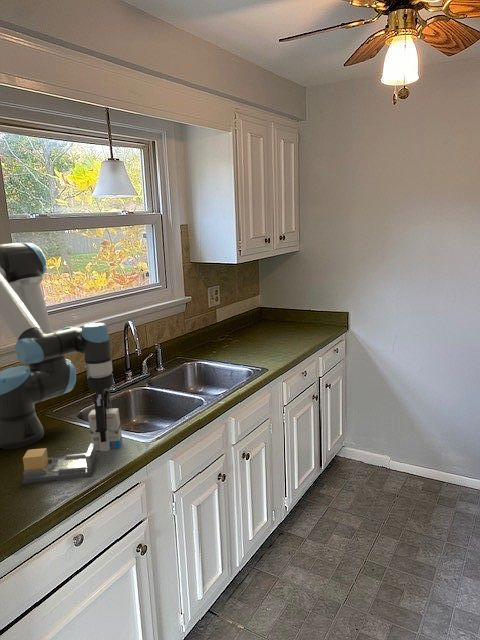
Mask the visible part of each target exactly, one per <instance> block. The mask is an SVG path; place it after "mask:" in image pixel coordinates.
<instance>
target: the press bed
mask: <svg viewBox="0 0 480 640" xmlns="http://www.w3.org/2000/svg"><path fill="white" fill-rule="evenodd" d="M99 459H100V457H99V453H98V452H97V450H95V443H92V442H91V443H89V446H88V449H87V452H84V453H74V454H66V455H65V456H58V457H57V456H56V457H48V464H47V466H46V468H45V469H37V470H27V471H25V470H23V472H22V473H23V476H22V477H21V483H22V485H25V484H26V485H27V484H37V483H46V482H53V481H63V480H65V481H66V480H73V479H74V480H75V479H82V478H83V479H85V478H93V477H94V473H95V470H96V468H97V465H98V462H99Z"/></svg>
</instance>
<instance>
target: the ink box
mask: <svg viewBox="0 0 480 640" xmlns="http://www.w3.org/2000/svg"><path fill="white" fill-rule="evenodd" d="M87 418H88V425H89V426H88V427H89V432H90V442H91V443H95V450H96V451H100V442H99V433H98V432H95V430H97V427H96V414H95V409H91V410H90V412H89V413H88V415H87ZM106 418H107V429H108V436H109V445H110V450H117V449H120V448H121V446H122V445H123V435H122V427H121V419H120V411H119V407H117V408H114V407H113V408H112V409H106Z"/></svg>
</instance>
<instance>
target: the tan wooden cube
mask: <svg viewBox="0 0 480 640" xmlns="http://www.w3.org/2000/svg"><path fill="white" fill-rule="evenodd" d="M47 449H48V448H47V447H45V448H44V447H43V448H35V449H34V448H32V449H27V451H26V452H25V454H24V456H23V457H22V462H23V463H22V464H23V469H24V470H23V471H27V470H37V469H45V468H46V466H47V464H48V458H49V456H48V450H47Z"/></svg>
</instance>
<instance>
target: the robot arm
mask: <svg viewBox="0 0 480 640" xmlns="http://www.w3.org/2000/svg"><path fill="white" fill-rule="evenodd" d="M46 272H47V259H46V256H45V254H44V252H43V250H42V249H41V248H40V246H37V245H36V244H35V243H31V242H22V241H21V242H13V243H1V244H0V318H1V319H2V320H3V322H4V323H5V325H6V326H7V328H8V330H10V333H12V336H14V338H15V339H16V343H15V345H14V352H15V354H16V358H17V360H18V361H19V362H20V363H21V364H23V365H18V366H12V367H9V368H4V369H2V370H0V448H2V449H1V450H15V449H21V448H24V447H28V446H30V445H33V444H35V443H37V442H38V441H40V440H41V439H43V437H44V436H45V431H44V426H43V425H42V423H41V421H40V419H39V417H38V416H37V413H36V408H35V404H37V403H40V402H44V401H47V400H49V399H53V398H56V397H60V396H61V397H62V396H63V395H64V394H66V393H70V392H71V391H72V390H73V389H74V387H75V386H76V382H77V371H76V367H75V364H74V363H73V362H72V361H71V360H70V359H68V358H66V357H65V356H67V355H70V354H74V353H81V354H83V355H84V361H85V364H84V365H83V368H86V369H85V370H86V375H87V387H88V389H89V390H92V391H95V394H94V400H93V402H94V410H95V414H96V427H97V430H95V432H98V433H99V442H100V450H99V451H100V452H109V451H111V449H110V445H109V436H108V429H107V418H106V409H113V408H112V401H111V394H110V388H111V387H113V386H114V385H115V384H114V383H115V382H114V374H113V373H112V372H113V371H114V370H113V362H112V355H111V342H110V333H109V328H108V326H107V324H106V323H104V322H91V323H86V324H83V325H82V326H81V327H79V326H65V327H63V328H62V329H61V330H59V331H53V328H52V324H51V321H50V317H49V313H48V309H47V305H46V302H45V298H44V294H43V291H42V287H41V286H42V285H41V283H42V282H43V280H44V276H43V275H44V274H45V273H46ZM26 365H28V366H26Z"/></svg>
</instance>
